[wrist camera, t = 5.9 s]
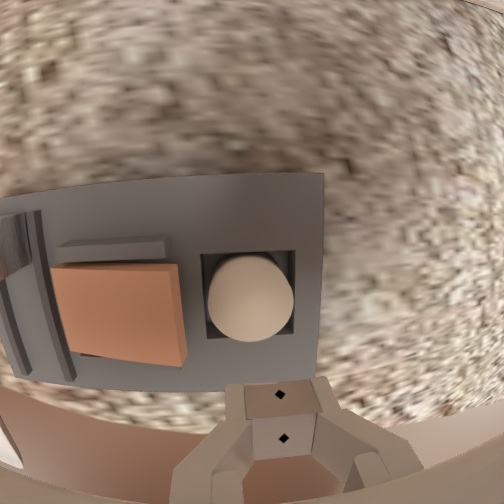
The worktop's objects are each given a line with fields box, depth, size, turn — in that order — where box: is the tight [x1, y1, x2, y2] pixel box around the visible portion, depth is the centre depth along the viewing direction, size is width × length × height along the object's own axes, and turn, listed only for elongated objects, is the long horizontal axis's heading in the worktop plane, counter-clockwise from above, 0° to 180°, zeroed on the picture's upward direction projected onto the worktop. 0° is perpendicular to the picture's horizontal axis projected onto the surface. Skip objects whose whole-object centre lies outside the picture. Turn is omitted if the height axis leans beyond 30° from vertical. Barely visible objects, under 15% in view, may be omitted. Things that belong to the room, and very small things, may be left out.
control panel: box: [0, 172, 324, 392], centre depth 18 cm, size 22×13×6 cm, turn 91°
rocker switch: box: [51, 262, 188, 367], centre depth 15 cm, size 7×5×1 cm
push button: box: [208, 251, 294, 342], centre depth 18 cm, size 4×4×3 cm
